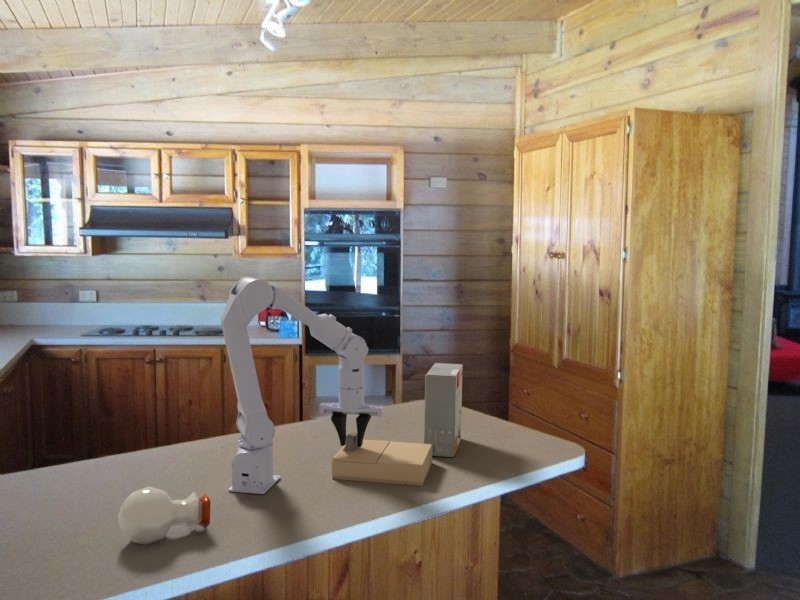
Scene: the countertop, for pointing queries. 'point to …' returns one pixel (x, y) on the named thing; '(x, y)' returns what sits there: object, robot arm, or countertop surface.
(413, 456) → the carton
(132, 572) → the countertop surface
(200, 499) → the potion bottle
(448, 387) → the hard drive box
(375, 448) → the lid flap
